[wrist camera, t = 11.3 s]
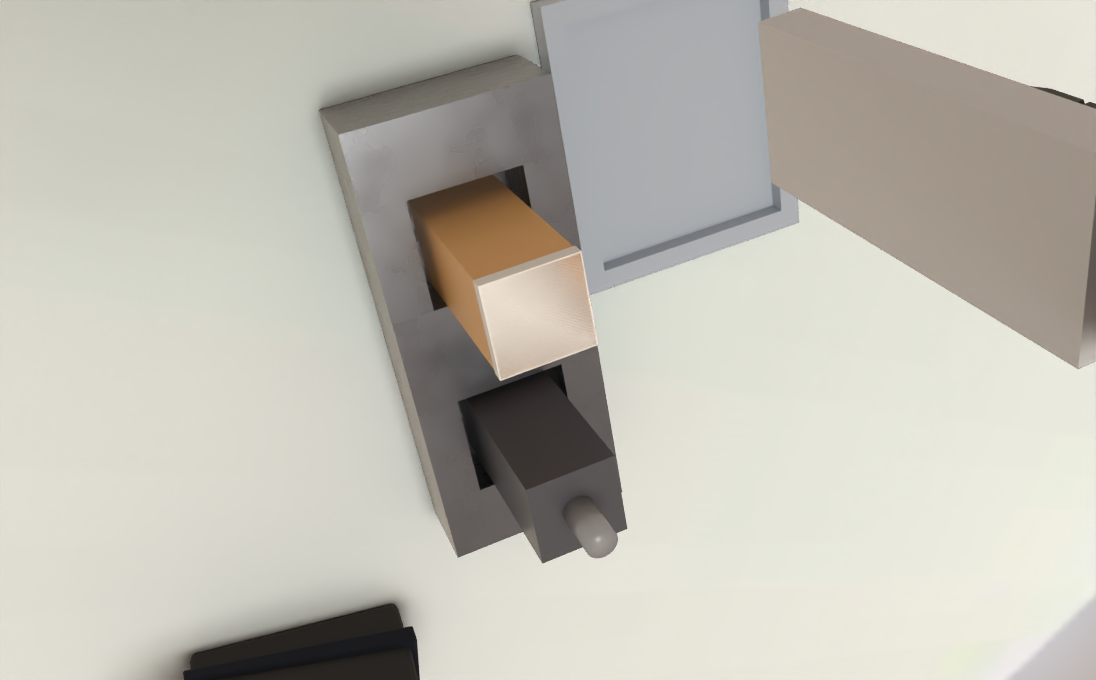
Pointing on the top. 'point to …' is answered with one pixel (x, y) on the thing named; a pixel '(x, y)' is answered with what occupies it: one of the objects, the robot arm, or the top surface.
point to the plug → (504, 275)
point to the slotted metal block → (400, 275)
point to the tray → (661, 128)
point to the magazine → (320, 652)
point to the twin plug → (547, 466)
